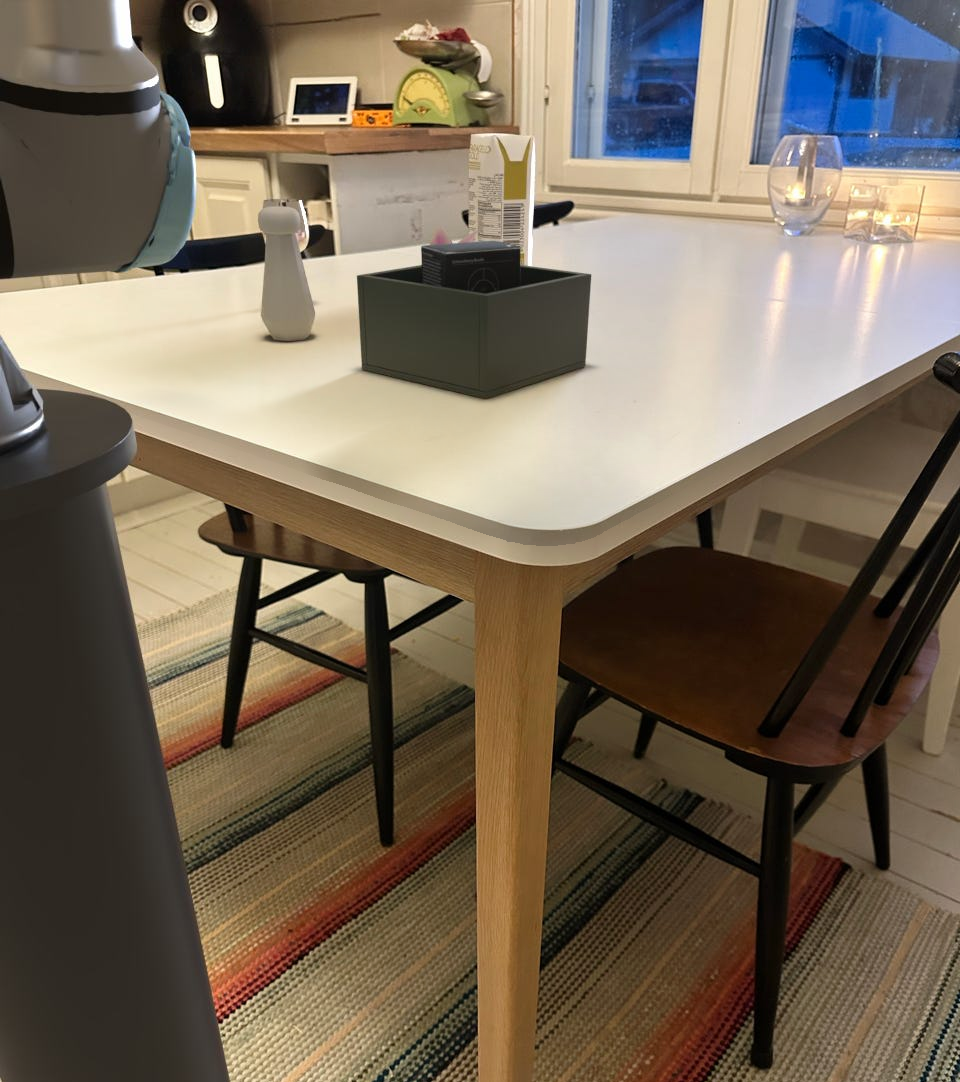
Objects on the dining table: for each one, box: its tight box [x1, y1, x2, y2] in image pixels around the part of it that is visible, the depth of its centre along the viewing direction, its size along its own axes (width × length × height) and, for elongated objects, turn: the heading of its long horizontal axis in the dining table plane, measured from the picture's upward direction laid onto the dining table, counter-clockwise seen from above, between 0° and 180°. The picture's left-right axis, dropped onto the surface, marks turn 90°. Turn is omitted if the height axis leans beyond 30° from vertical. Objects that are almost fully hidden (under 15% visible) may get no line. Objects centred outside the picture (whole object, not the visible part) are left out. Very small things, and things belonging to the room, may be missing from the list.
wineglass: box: [261, 198, 310, 253], centre depth 115 cm, size 6×6×12 cm
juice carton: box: [468, 132, 536, 266], centre depth 126 cm, size 8×9×19 cm
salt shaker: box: [257, 206, 316, 342], centre depth 98 cm, size 6×6×13 cm
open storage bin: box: [356, 264, 592, 400], centre depth 88 cm, size 16×16×9 cm
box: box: [420, 241, 521, 294], centre depth 87 cm, size 8×6×11 cm
